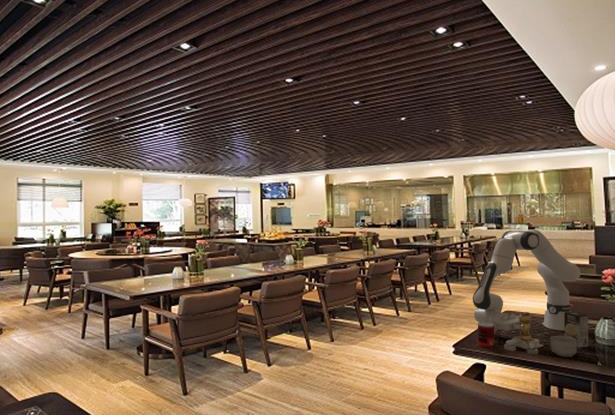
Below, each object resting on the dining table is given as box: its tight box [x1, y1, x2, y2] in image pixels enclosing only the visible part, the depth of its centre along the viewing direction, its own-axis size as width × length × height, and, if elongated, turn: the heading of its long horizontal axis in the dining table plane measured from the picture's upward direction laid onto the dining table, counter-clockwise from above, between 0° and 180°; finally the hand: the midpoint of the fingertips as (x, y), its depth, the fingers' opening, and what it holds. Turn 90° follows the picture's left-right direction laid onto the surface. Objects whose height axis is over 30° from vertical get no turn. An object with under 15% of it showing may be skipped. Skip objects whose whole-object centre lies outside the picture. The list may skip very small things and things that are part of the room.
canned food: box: [477, 322, 495, 349], centre depth 218 cm, size 8×8×11 cm
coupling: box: [518, 311, 532, 341], centre depth 218 cm, size 6×6×14 cm
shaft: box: [525, 340, 539, 356], centre depth 209 cm, size 9×4×4 cm, turn 166°
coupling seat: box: [503, 336, 545, 352], centre depth 216 cm, size 20×12×4 cm, turn 121°
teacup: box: [549, 335, 578, 358], centre depth 204 cm, size 14×11×8 cm
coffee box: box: [563, 310, 589, 348], centre depth 219 cm, size 9×6×16 cm
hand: (526, 327), depth 217 cm, fingers closed on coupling, 4 cm apart
